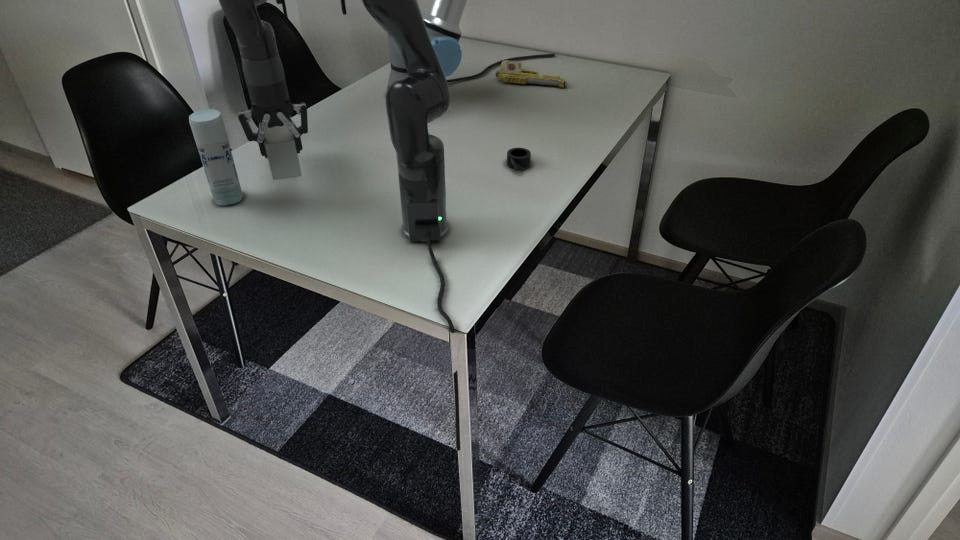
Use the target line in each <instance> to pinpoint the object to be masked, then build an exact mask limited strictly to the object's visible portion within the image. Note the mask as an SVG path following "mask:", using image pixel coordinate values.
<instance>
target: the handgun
mask: <svg viewBox="0 0 960 540" xmlns="http://www.w3.org/2000/svg"><path fill="white" fill-rule="evenodd" d="M503 60H504V61H503V62H502V63H501V64H499V68H500V70H496V72H495V73H494V75H495V77H496V78H497V79H498V80H500V81H502V82H504V83H511V84H522V85H526V84H532V85H541V86H551V87H552V86H553V87H557V88H562V89H563V88H564V87H565V88H566V87H567V81H566V77H565V78H563V77H561V76H560V75H548V74H547V75H546V74H539V72H538V71H534V70H526V69H523V68H522V65H523V64H522V63H521V61H518V60H512V61H508V60H505V59H503Z"/></svg>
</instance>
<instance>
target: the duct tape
mask: <svg viewBox="0 0 960 540" xmlns="http://www.w3.org/2000/svg"><path fill="white" fill-rule="evenodd" d="M531 157H532V152H531V150H529V149H528V148H526V147H512V148H510V149H508V150H507V151H506V166H507V167H509V168H510V169H512V170H513V169H514V170H520V171H524V169H527V168H529V167H530V166H531Z"/></svg>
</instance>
